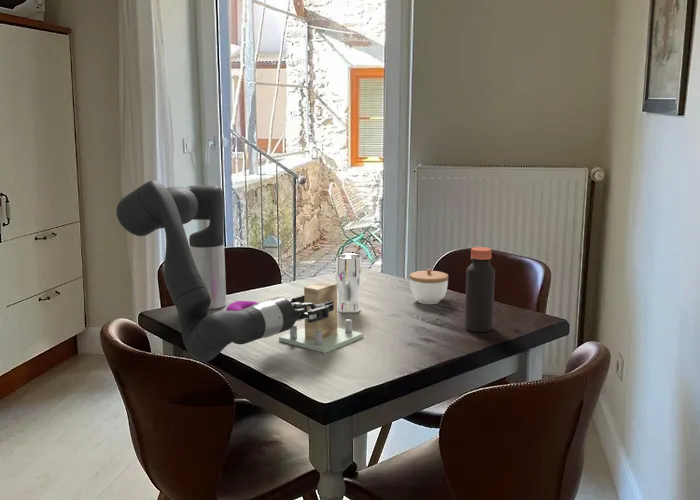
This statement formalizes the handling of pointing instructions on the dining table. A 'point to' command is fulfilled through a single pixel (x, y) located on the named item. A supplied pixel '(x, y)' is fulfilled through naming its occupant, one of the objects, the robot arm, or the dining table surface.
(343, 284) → the shiny metal tumbler
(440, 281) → the lidded jar
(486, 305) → the bottle
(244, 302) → the donut
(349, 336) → the peg stand
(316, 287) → the oak block
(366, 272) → the dining table surface
